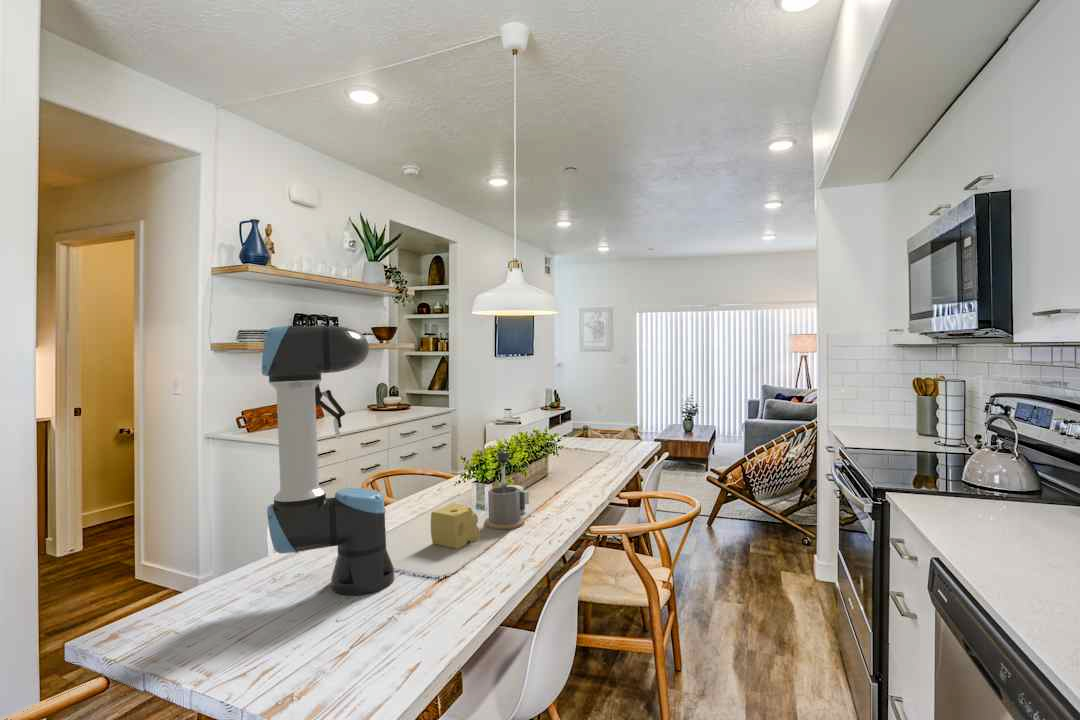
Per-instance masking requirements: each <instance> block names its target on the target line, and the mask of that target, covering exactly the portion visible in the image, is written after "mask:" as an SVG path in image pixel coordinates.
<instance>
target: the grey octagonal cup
mask: <svg viewBox="0 0 1080 720" xmlns="http://www.w3.org/2000/svg"><path fill="white" fill-rule="evenodd" d="M523 491H524V490H523ZM523 491H520V489H518V488H516V487H512V486H509V485H506V494H502V485H501V486H495V487H491V488H490V489H488V491H487V493H488V494H487V497H488V498H487V499H488V517H487V518H486V519H485V520H484V526H487V528H488V527H489V529H491V528H492V530H497V529H498V530H499V529H500V530H499V531H501V530H502V531H503V530H504V531H505V530H514V529H517V528H521V527H523V526H524V525H525V524H526V523H525V517H523V515H521V516H520V510H524V511H525V510H526V504H525V497H524V492H523Z"/></svg>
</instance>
